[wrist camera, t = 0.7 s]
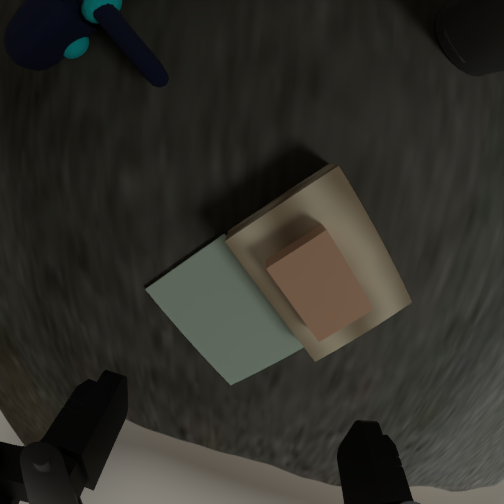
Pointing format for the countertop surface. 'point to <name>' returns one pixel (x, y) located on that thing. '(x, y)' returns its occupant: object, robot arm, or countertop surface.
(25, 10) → the toy
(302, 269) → the tile
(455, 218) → the countertop surface
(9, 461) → the robot arm
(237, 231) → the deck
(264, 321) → the mat
